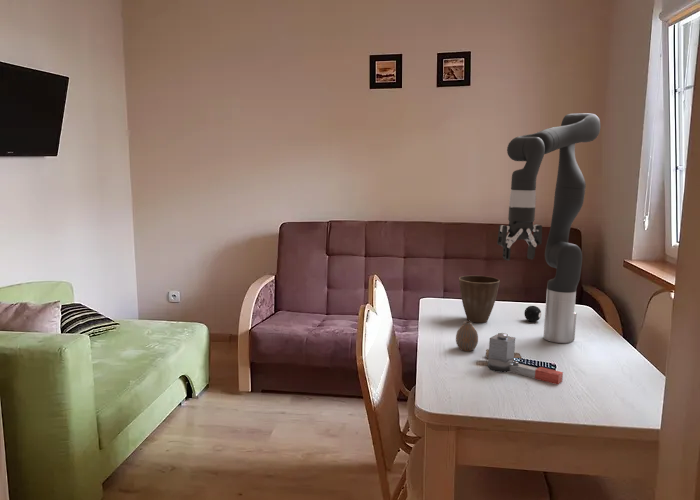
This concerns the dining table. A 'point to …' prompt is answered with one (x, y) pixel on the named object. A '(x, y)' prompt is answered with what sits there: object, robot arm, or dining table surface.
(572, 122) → the robot arm
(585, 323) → the dining table surface
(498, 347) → the domed steel cube
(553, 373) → the ratchet
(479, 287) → the plant pot
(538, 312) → the billiard ball
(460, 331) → the vase
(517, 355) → the mineral rock
